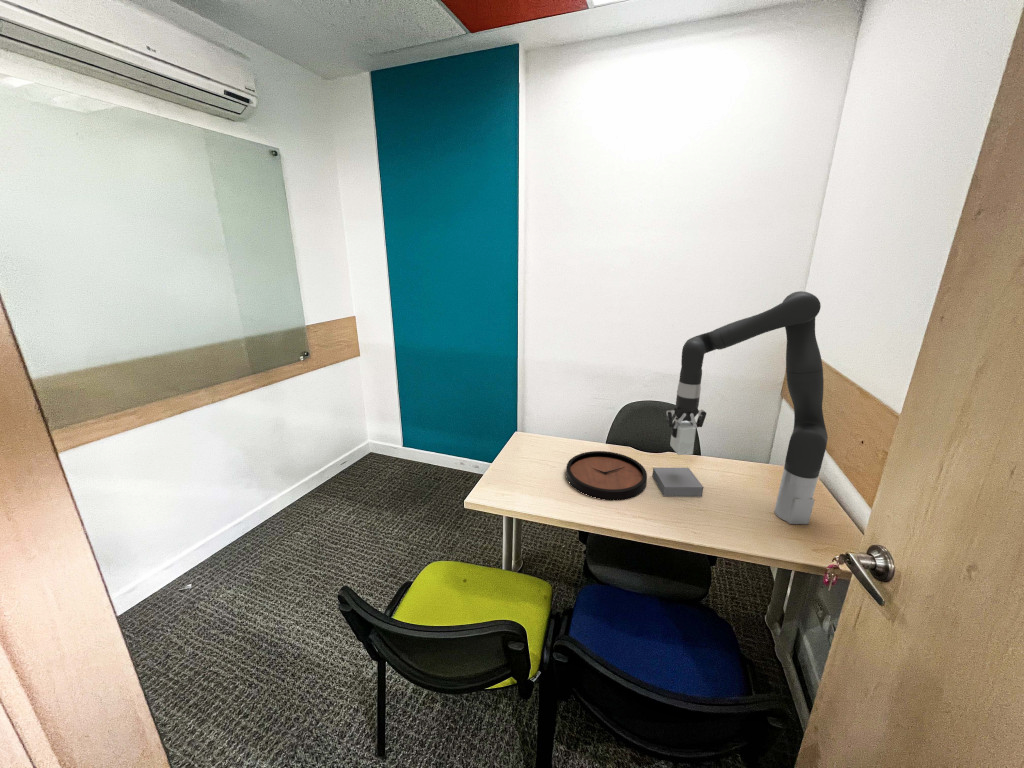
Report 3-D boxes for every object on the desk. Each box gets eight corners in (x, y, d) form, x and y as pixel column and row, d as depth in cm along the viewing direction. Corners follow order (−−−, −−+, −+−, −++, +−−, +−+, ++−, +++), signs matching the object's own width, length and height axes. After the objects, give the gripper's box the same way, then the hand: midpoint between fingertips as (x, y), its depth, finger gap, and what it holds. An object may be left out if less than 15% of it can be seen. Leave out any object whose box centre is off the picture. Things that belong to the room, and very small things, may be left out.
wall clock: (567, 489, 146) (565, 449, 175) (567, 499, 147) (565, 457, 176) (655, 493, 142) (638, 452, 172) (654, 503, 144) (637, 460, 173)
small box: (692, 455, 145) (696, 428, 141) (677, 455, 145) (680, 428, 142) (684, 445, 152) (687, 419, 149) (669, 445, 152) (672, 419, 149)
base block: (702, 496, 146) (703, 487, 145) (663, 496, 147) (664, 487, 146) (687, 476, 160) (688, 467, 159) (652, 476, 160) (653, 467, 159)
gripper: (671, 397, 138) (666, 441, 144) (713, 397, 138) (706, 441, 143) (664, 390, 145) (659, 432, 151) (704, 390, 145) (698, 432, 150)
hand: (682, 436), depth 147 cm, fingers closed on small box, 5 cm apart
